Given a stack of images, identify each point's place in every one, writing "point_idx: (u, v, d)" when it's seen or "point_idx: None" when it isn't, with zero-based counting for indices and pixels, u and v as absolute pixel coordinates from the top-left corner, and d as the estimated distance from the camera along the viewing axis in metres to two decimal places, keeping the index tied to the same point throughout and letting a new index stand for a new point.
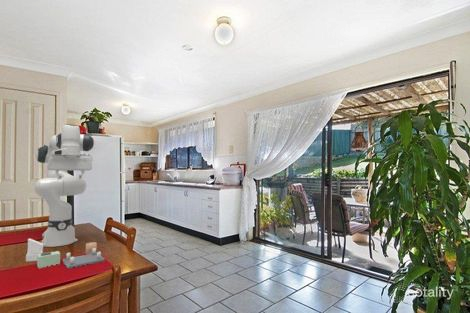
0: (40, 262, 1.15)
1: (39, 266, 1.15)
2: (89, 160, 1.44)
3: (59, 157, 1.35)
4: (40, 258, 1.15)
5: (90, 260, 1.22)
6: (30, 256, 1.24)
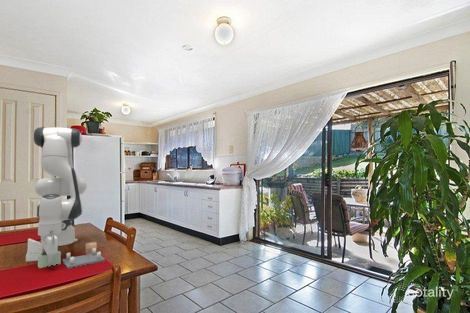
0: (41, 262, 1.16)
1: (40, 266, 1.15)
2: (47, 243, 1.12)
3: None
4: (41, 258, 1.16)
5: (90, 260, 1.22)
6: (30, 256, 1.24)
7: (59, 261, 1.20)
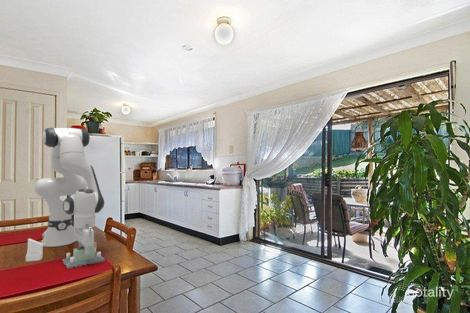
0: (77, 256, 1.20)
1: (76, 260, 1.20)
2: (85, 235, 1.17)
3: (76, 228, 1.27)
4: (77, 252, 1.20)
5: (90, 260, 1.22)
6: (30, 256, 1.24)
7: (93, 255, 1.25)
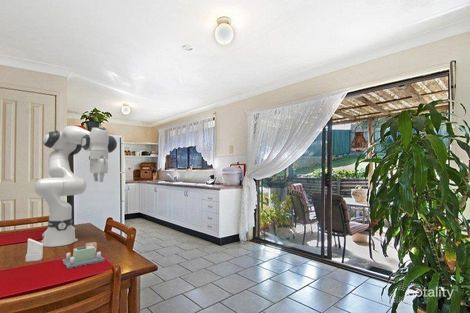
0: (77, 256, 1.20)
1: (76, 260, 1.20)
2: (100, 163, 1.35)
3: (91, 161, 1.45)
4: (77, 252, 1.20)
5: (90, 260, 1.22)
6: (30, 256, 1.24)
7: (93, 255, 1.25)
